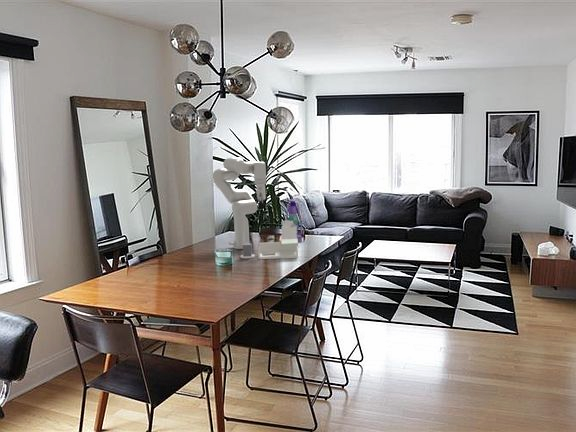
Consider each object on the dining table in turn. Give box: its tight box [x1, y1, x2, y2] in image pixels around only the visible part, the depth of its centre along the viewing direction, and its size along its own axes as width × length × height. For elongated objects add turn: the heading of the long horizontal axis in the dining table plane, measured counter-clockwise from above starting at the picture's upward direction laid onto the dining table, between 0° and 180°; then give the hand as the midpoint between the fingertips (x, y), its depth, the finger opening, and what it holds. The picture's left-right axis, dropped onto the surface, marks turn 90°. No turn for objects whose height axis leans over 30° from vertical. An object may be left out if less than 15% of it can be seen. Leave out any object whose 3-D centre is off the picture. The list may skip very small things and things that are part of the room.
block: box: [242, 242, 253, 256], centre depth 351 cm, size 5×5×7 cm
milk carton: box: [280, 219, 298, 239], centre depth 370 cm, size 7×7×19 cm
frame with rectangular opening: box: [257, 241, 299, 260], centre depth 351 cm, size 24×15×7 cm, turn 90°
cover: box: [279, 235, 299, 246], centre depth 350 cm, size 11×15×3 cm
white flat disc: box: [240, 253, 256, 260], centre depth 352 cm, size 9×9×1 cm
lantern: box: [285, 198, 303, 243], centre depth 397 cm, size 13×12×30 cm
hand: (261, 208), depth 362 cm, fingers open, 9 cm apart
